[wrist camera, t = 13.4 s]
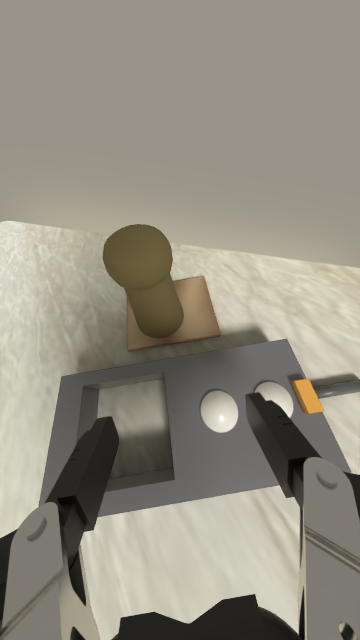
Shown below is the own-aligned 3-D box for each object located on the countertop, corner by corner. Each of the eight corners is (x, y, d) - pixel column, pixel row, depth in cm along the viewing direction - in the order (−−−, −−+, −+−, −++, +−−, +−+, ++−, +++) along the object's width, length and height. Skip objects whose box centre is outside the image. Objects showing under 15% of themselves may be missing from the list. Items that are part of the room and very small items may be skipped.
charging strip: (334, 338, 19) (363, 324, 16) (402, 446, 14) (462, 457, 11) (80, 380, 19) (56, 375, 16) (64, 505, 14) (26, 534, 11)
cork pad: (203, 279, 24) (203, 276, 24) (220, 336, 20) (220, 334, 20) (128, 291, 24) (127, 288, 24) (128, 351, 20) (127, 349, 19)
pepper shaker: (140, 296, 23) (100, 213, 13) (184, 295, 22) (177, 209, 13) (132, 338, 20) (75, 271, 10) (183, 338, 20) (173, 269, 10)
